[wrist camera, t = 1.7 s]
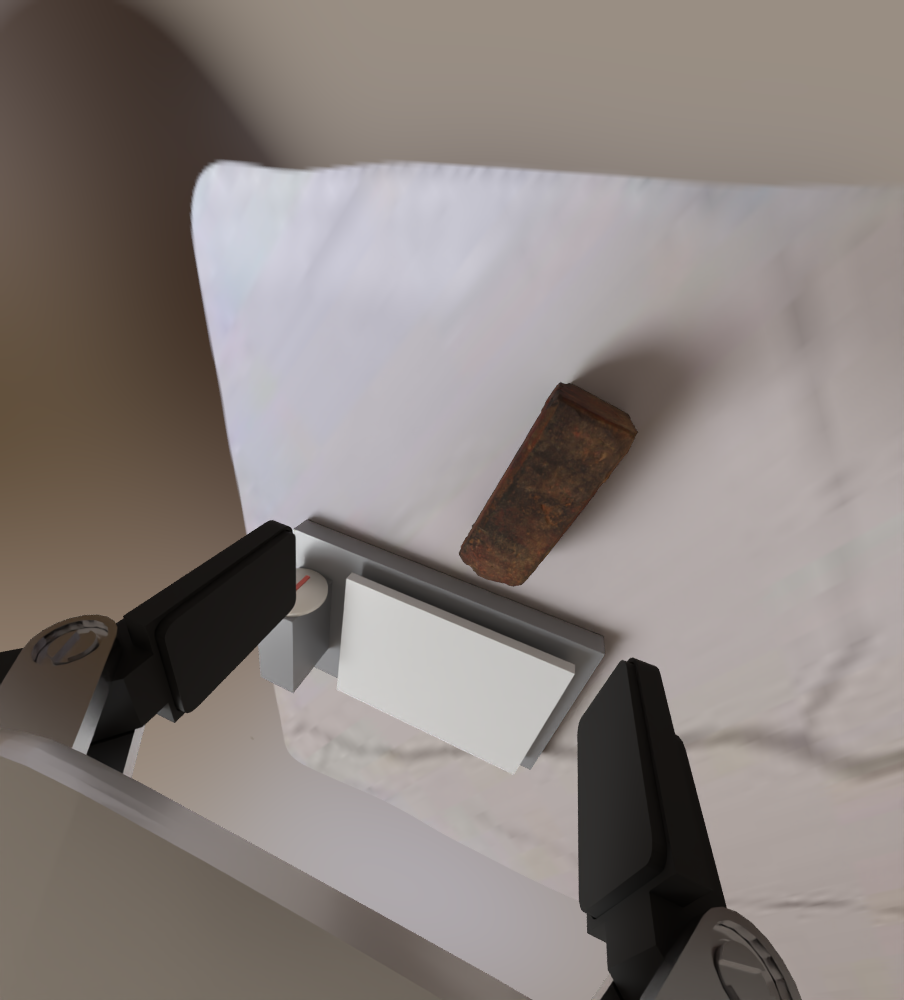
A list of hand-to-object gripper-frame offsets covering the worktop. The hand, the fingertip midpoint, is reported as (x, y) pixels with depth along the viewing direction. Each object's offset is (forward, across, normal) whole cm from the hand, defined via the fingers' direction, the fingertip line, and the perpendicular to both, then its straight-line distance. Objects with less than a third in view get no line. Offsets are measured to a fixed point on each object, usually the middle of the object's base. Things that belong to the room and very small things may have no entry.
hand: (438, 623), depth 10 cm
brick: (+13, -2, 0) cm, 13 cm away
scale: (+13, +2, +17) cm, 21 cm away
